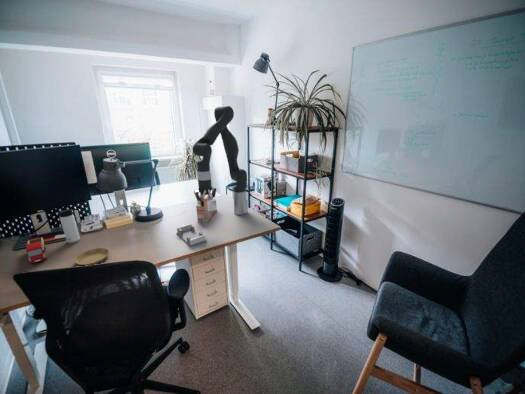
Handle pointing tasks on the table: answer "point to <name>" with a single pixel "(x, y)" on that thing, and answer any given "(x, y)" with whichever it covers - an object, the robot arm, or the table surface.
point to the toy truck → (36, 250)
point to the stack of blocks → (203, 213)
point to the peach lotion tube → (208, 203)
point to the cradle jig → (190, 235)
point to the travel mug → (69, 226)
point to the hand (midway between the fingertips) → (206, 205)
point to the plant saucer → (92, 256)
